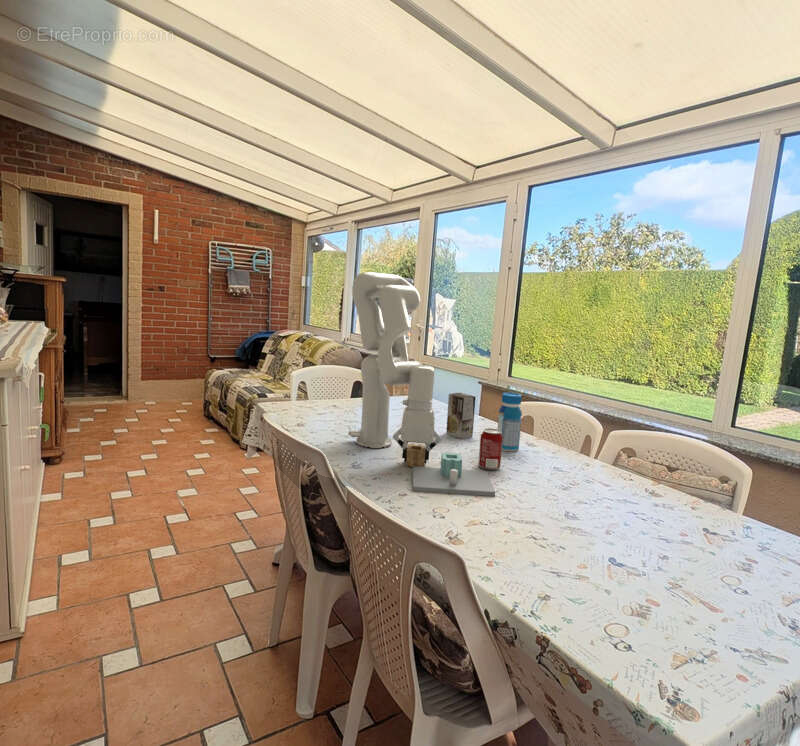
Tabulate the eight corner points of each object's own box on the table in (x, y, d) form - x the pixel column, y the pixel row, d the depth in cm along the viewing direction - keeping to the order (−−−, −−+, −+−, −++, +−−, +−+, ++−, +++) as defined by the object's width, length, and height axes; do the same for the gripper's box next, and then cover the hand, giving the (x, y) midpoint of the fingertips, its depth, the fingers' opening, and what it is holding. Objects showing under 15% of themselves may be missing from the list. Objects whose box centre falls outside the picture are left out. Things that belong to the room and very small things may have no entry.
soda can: (499, 472, 144) (503, 434, 143) (477, 469, 146) (480, 432, 144) (499, 465, 151) (503, 429, 149) (478, 462, 152) (481, 426, 151)
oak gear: (405, 466, 144) (407, 450, 143) (406, 458, 151) (407, 443, 150) (424, 467, 144) (425, 452, 143) (423, 459, 151) (424, 444, 150)
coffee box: (473, 437, 182) (476, 396, 180) (460, 439, 179) (463, 397, 176) (457, 431, 190) (460, 392, 187) (445, 433, 186) (448, 393, 184)
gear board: (412, 490, 126) (414, 468, 125) (413, 470, 142) (414, 450, 141) (494, 496, 126) (496, 474, 125) (485, 474, 142) (487, 454, 141)
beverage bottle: (509, 453, 164) (515, 397, 161) (490, 447, 170) (495, 393, 167) (523, 449, 170) (529, 395, 167) (504, 443, 176) (509, 391, 173)
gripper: (391, 405, 141) (387, 463, 144) (448, 410, 140) (443, 467, 143) (392, 400, 148) (388, 455, 151) (446, 404, 148) (441, 459, 151)
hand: (415, 460), depth 147 cm, fingers closed on oak gear, 5 cm apart
